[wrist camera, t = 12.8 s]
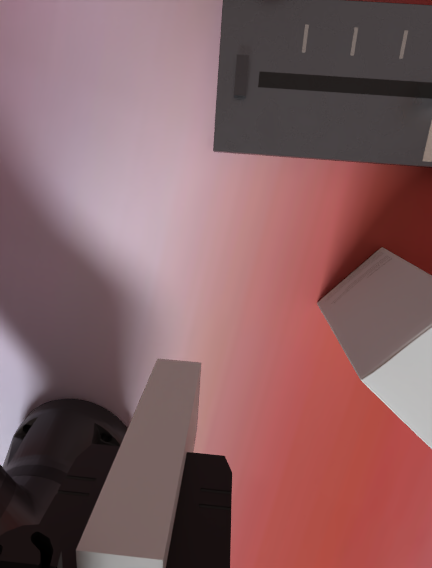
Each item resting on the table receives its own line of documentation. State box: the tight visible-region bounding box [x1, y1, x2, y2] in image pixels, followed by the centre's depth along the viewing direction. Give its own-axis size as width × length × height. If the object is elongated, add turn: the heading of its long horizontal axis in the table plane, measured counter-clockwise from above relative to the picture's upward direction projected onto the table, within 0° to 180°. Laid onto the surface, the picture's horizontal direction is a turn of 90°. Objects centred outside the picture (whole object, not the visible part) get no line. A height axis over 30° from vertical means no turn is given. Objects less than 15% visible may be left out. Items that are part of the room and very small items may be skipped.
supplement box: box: [317, 247, 432, 449], centre depth 32 cm, size 9×9×15 cm
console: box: [213, 0, 432, 168], centre depth 31 cm, size 28×12×3 cm, turn 86°
